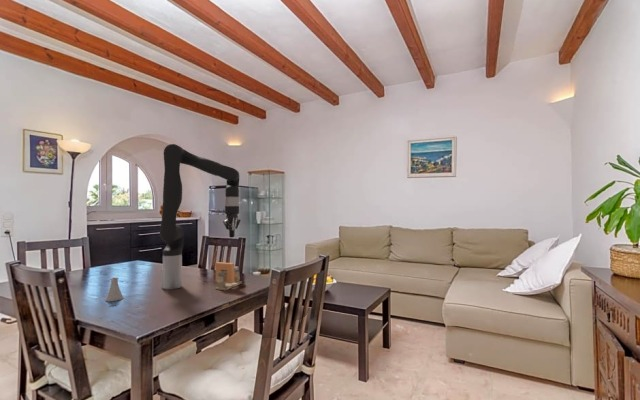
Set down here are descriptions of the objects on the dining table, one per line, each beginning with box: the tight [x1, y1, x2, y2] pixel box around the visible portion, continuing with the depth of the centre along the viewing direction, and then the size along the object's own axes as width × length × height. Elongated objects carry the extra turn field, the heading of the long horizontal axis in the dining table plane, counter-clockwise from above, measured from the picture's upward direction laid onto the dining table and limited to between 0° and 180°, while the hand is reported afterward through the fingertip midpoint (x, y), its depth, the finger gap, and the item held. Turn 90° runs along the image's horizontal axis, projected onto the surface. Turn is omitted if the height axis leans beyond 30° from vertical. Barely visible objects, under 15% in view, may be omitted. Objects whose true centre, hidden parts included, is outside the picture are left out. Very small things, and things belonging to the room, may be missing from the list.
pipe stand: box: [214, 266, 243, 291], centre depth 177 cm, size 15×6×9 cm, turn 160°
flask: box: [105, 277, 124, 302], centre depth 154 cm, size 7×7×10 cm
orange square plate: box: [215, 261, 235, 284], centre depth 173 cm, size 10×2×10 cm, turn 70°
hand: (231, 237), depth 179 cm, fingers closed
